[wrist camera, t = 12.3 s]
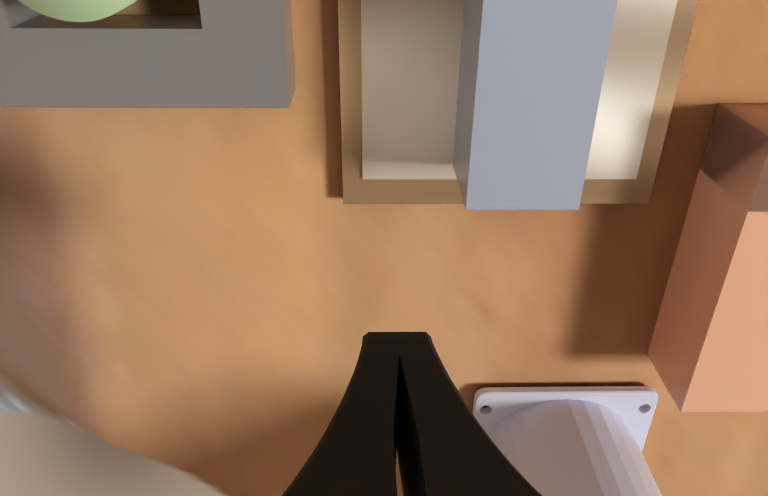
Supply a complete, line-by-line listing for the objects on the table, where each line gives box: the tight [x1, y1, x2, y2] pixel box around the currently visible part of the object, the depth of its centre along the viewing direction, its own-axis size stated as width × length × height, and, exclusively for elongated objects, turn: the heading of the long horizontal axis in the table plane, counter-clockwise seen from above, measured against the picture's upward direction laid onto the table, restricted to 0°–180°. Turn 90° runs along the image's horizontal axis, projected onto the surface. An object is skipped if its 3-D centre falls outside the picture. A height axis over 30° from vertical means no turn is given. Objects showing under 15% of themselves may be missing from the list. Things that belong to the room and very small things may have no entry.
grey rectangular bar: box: [453, 0, 618, 210], centre depth 18 cm, size 11×3×3 cm, turn 179°
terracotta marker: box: [647, 103, 768, 412], centre depth 23 cm, size 11×3×3 cm, turn 179°
